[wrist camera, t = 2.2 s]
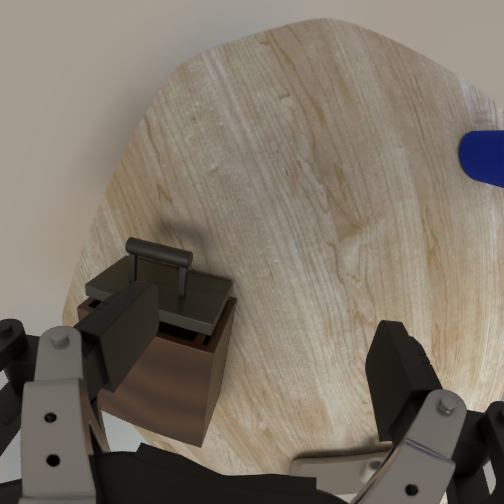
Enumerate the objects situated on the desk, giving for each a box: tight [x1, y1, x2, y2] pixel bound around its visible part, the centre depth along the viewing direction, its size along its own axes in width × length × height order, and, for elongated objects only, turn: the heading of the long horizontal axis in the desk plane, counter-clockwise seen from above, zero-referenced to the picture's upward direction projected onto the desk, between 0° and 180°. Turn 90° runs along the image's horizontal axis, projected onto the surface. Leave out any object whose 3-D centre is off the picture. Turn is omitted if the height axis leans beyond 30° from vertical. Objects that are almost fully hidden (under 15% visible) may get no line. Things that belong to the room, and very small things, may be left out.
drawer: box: [85, 237, 233, 346], centre depth 29 cm, size 19×12×8 cm, turn 170°
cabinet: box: [77, 297, 237, 448], centre depth 30 cm, size 16×14×10 cm
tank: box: [290, 451, 389, 503], centre depth 33 cm, size 25×16×12 cm, turn 96°
